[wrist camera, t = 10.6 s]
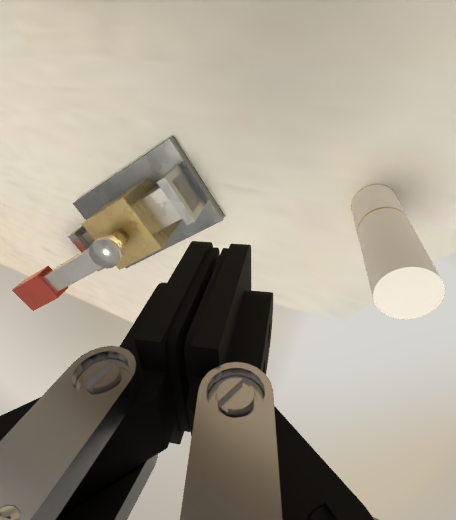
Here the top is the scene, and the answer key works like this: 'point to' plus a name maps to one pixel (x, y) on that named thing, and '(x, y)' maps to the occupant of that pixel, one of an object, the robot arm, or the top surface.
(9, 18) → the top surface
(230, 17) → the top surface
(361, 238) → the tube
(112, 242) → the valve lever
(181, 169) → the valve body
